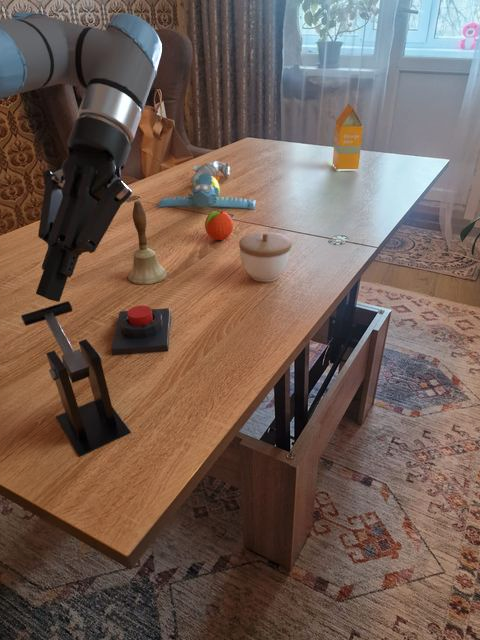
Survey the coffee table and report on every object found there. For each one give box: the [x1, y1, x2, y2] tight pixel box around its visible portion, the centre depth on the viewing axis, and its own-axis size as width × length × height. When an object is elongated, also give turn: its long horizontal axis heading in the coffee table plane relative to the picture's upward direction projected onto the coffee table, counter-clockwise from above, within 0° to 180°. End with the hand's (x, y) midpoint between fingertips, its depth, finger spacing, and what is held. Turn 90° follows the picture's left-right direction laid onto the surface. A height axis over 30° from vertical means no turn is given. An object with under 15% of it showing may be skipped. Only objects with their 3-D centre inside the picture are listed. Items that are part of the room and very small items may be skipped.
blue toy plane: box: [157, 173, 257, 211], centre depth 137 cm, size 28×9×15 cm
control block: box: [110, 307, 172, 356], centre depth 82 cm, size 9×12×4 cm
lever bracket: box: [45, 339, 132, 458], centre depth 62 cm, size 9×7×13 cm
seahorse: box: [190, 160, 231, 185], centre depth 158 cm, size 5×12×20 cm
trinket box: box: [238, 231, 292, 283], centre depth 100 cm, size 11×11×9 cm
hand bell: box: [127, 200, 168, 285], centre depth 98 cm, size 8×8×16 cm
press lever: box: [21, 300, 90, 384], centre depth 60 cm, size 11×6×2 cm, turn 37°
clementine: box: [204, 210, 234, 241], centre depth 117 cm, size 8×7×7 cm
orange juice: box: [332, 104, 364, 170], centre depth 166 cm, size 8×9×20 cm
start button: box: [127, 305, 153, 326], centre depth 81 cm, size 4×4×2 cm
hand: (47, 297), depth 62 cm, fingers closed
